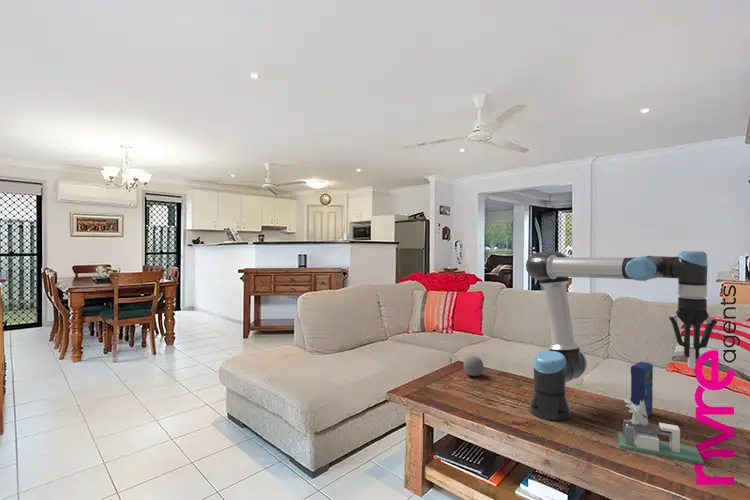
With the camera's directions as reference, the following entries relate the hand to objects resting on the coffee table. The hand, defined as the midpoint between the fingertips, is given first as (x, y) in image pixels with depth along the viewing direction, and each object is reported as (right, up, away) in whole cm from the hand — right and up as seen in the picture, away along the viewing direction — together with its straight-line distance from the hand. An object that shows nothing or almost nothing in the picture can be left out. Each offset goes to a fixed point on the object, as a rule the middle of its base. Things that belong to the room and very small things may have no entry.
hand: (691, 367), depth 133 cm
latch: (-10, -26, -3) cm, 28 cm away
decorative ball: (-56, -25, +70) cm, 93 cm away
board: (-13, -27, -2) cm, 30 cm away
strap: (-15, -21, -1) cm, 26 cm away
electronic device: (-1, -26, +23) cm, 35 cm away
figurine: (-12, -26, +11) cm, 31 cm away
